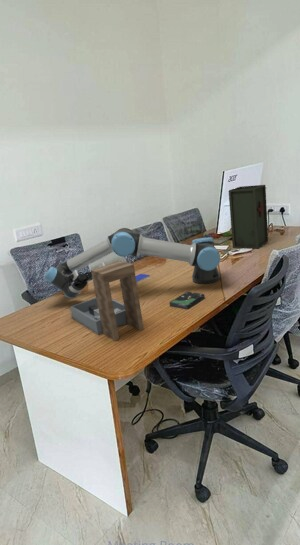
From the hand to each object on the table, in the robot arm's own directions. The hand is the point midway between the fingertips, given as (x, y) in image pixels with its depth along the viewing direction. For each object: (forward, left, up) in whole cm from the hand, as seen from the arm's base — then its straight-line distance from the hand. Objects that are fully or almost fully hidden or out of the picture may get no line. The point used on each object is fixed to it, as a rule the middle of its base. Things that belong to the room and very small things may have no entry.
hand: (90, 268), depth 165 cm
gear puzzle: (-70, -140, -25) cm, 159 cm away
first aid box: (-87, -105, -24) cm, 138 cm away
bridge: (-14, +16, -24) cm, 32 cm away
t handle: (-1, +2, -23) cm, 23 cm away
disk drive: (-41, -9, -25) cm, 49 cm away
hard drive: (-12, -54, -25) cm, 60 cm away
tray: (-1, +2, -24) cm, 24 cm away
